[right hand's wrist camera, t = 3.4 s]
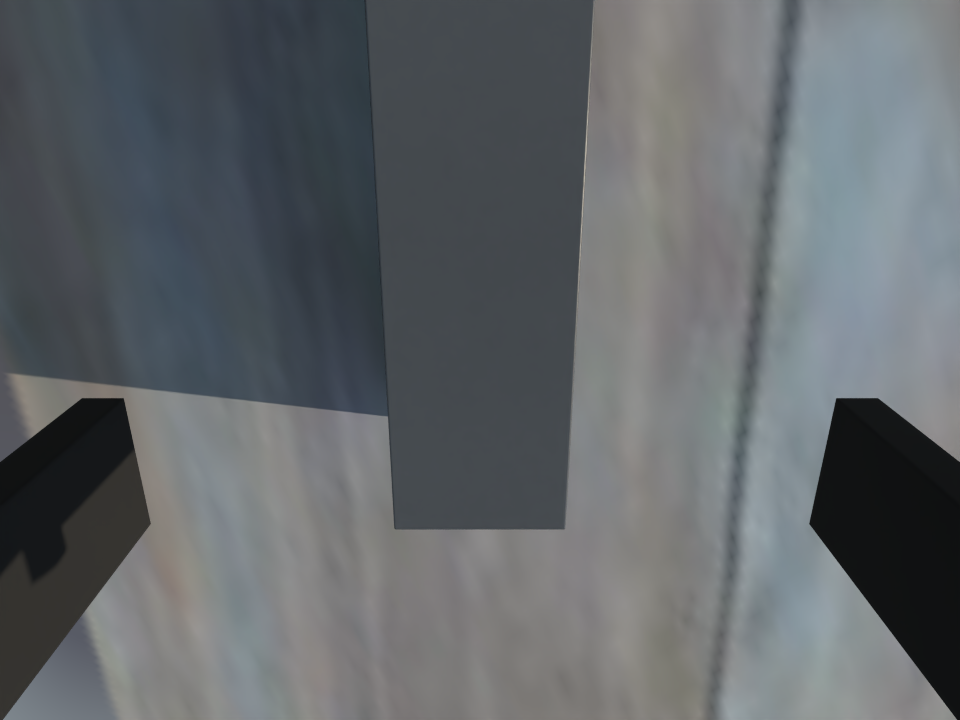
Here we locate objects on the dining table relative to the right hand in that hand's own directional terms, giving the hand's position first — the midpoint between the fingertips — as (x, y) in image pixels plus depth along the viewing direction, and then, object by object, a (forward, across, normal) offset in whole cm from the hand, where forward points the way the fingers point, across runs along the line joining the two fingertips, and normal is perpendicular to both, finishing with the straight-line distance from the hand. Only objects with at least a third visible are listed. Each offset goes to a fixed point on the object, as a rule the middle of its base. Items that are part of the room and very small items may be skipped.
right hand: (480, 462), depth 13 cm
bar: (+16, 0, -19) cm, 25 cm away
